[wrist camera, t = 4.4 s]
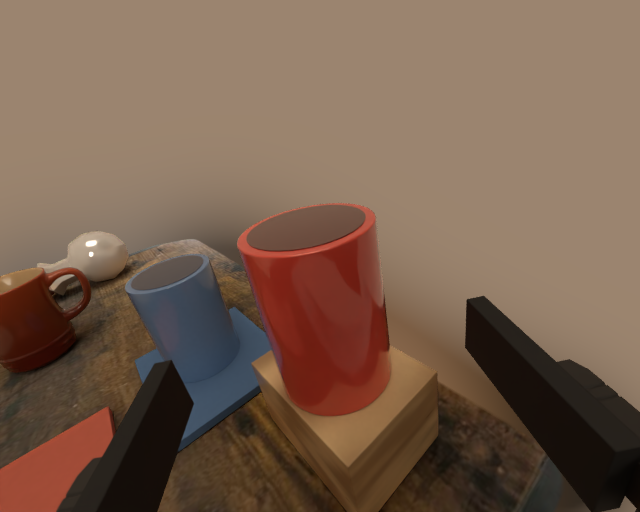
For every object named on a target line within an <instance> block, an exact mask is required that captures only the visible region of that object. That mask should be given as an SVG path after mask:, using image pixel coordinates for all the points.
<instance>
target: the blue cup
mask: <svg viewBox="0 0 640 512" xmlns="http://www.w3.org/2000/svg"><path fill="white" fill-rule="evenodd" d="M125 291H126V293H127V294H128V296H129V298H130V300H131V302H132V304H133V306H134V308H135V309H136V311H137V313H138V315H139V317H140V319H141V321H142V322H143V324H144V326H145V328H146V330H147V332H148V334H149V336H150V337H151V339H152V341H153V343H154V345H155V347H156V349H157V350H158V352H159V354H160V356H161V358H162V360H163V362H164V361H169V360H172V361H173V363H174V365H175V367H176V369H177V371H178V373H179V375H180V377H181V379H182V381H183V383H192V382H198V381H202V380H205V379H207V378H210V377H212V376H214V375H215V374H217V373H219V372H220V371H222V370H223V369H224V368H226V367H227V366H228V365H229V364H230V363H231V362H232V361H233V360H234V358H235V357H236V356H237V354H238V352H239V349H240V340H239V337H238V334H237V332H236V329H235V326H234V324H233V321H232V318H231V316H230V313H229V310H228V308H227V305H226V303H225V300H224V297H223V295H222V292H221V289H220V287H219V284H218V281H217V279H216V276H215V273H214V271H213V268H212V265H211V263H210V260H209V258H208V257H207V256H206V255H203V254H187V255H181V256H177V257H173V258H170V259H167V260H164V261H161V262H159V263H156V264H154V265H152V266H150V267H148V268H146V269H144V270H142V271H140V272H139V273H137V274H136V275H135V276H133V277H132V278H131V279H130V280H129V281H128V282H127V283H126V285H125Z"/></svg>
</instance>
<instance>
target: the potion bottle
mask: <svg viewBox="0 0 640 512" xmlns="http://www.w3.org/2000/svg"><path fill="white" fill-rule="evenodd" d="M128 257H129V255H128V252H127V249H126V245H125V243H123V242H122V241H121V240H120V239H119V238H117V237H116V236H115V235H114V234H110V233H105V232H100V231H93V232H88V233H83V234H81V235H80V236H78V237H77V238H76V239H75V240H73V241H72V242H71V243H69V245H68V253H67V258H66V259H63V260H61V261H59V262H57V263H54V264H44V263H38V264H37V268H38V267H41V268H43V269H44V270H45V272H46V273H50V272H53V271H55V270H58V269H62V268H66V267H73V268H77V269H79V270H81V271H82V272H83V273H84V274H85V275H86V277H87V279H88V280H91V281H95V282H98V281H104V280H109V279H114V278H115V277H116V276H117V275H118V274H119V273H120V272H121V271H122V270H123V269H124V268H125V267H126V264H127V260H128ZM75 281H78V278H77V277H76V276H75V275H72V274H68V275H64V276H62V277H60V278H58V279H56V280H55V281H54V282H53V284H52V285H51V286H50V287H49V290H50V292H51V295H53V294H54V293H55V294H59V295H62V296H64V293H65V291H66V289H67V286H68V285H69V284H71V283H73V282H75Z"/></svg>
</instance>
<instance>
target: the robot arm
mask: <svg viewBox="0 0 640 512" xmlns="http://www.w3.org/2000/svg"><path fill="white" fill-rule="evenodd" d="M465 348H466V349H467V350H468V352H469V353H470V354H471V356H472V357H473V358H474V360H475V361H476V362H477V363H478V365H479V366H480V367H481V369H482V370H483V371H484V372H485V374H486V375H487V377H488V378H489V379H490V380H491V382H492V383H493V384H494V386H495V387H496V388H497V390H498V391H499V392H500V393H501V395H502V396H503V397H504V399H505V400H506V401H507V403H508V404H509V405H510V407H511V408H512V409H513V410H514V412H515V413H516V414H517V416H518V417H519V418H520V420H521V421H522V422H523V424H524V425H525V426H526V427H527V429H528V430H529V431H530V433H531V434H532V435H533V437H534V438H535V439H536V441H537V442H538V443H539V444H540V446H541V447H542V448H543V450H544V451H545V452H546V454H547V455H548V456H549V457H550V459H551V460H552V461H553V463H554V464H555V465H556V467H557V468H558V469H559V471H560V472H561V473H562V474H563V476H564V477H565V478H566V480H567V481H568V482H569V484H570V485H571V486H572V487H573V489H574V490H575V491H576V493H577V494H578V495H579V497H580V498H581V499H582V501H583V502H584V503H585V504H586V506H587V507H588V508H589V510H590V511H591V512H602V511H606V510H611V509H616V508H619V507H620V505H621V503H622V501H623V499H624V496H626V497H627V498H628V499H629V500H630V501H631V503H632V504H633V505H634V506H635V507H636V508H637V509H636V511H635V512H640V412H639V411H638V410H637V409H635V408H634V407H633V406H632V405H631V404H629V403H628V402H627V401H626V400H625V399H623V398H622V397H619V396H618V394H617V393H616V392H615V391H614V390H613V389H612V388H610V387H609V386H608V385H607V386H606V385H605V383H604V382H603V381H602V380H601V379H600V378H598V377H597V376H596V375H595V374H593V373H592V372H591V371H590V370H589V369H587V368H585V367H583V366H581V365H579V364H577V363H575V362H574V361H572V360H570V359H569V360H565V361H560V362H556V361H555V360H554V359H553V358H551V357H550V356H549V355H548V354H547V353H546V352H545V351H544V350H543V349H542V348H540V347H539V346H538V345H537V344H536V343H535V342H534V341H533V340H532V339H530V338H529V337H528V336H527V335H526V334H525V333H524V332H523V331H522V330H521V329H520V328H519V327H517V326H516V325H515V324H514V323H513V322H512V321H511V320H510V319H509V318H508V317H506V316H505V315H504V314H503V313H502V312H501V311H500V310H499V309H497V307H495V306H494V305H493V304H492V303H491V302H490V301H489V300H488V299H487V298H485V296H481V297H476V298H471V299H467V307H466V339H465ZM193 405H194V402H193V400H192V398H191V396H190V394H189V392H188V390H187V388H186V386H185V385H184V383H183V381H182V379H181V377H180V375H179V373H178V371H177V369H176V367H175V365H174V363H173V361H172V360H169V361H164V362H159V363H154V365H153V367H152V369H151V370H150V372H149V374H148V376H147V377H146V379H145V381H144V383H143V385H142V386H141V388H140V390H139V392H138V393H137V395H136V397H135V399H134V401H133V402H132V404H131V406H130V408H129V410H128V411H127V413H126V415H125V417H124V418H123V420H122V422H121V424H120V426H119V427H118V429H117V431H116V433H115V435H114V436H113V438H112V440H111V442H110V443H109V445H108V447H107V449H106V451H105V452H104V454H103V456H102V457H98V458H93V459H92V460H91V461H90V462H89V463H88V464H87V465H86V467H85V468H84V469H83V470H82V471H81V472H80V473H79V474H78V475H77V477H76V478H75V480H74V482H73V483H72V485H71V487H70V488H69V490H68V492H67V493H66V497H65V498H64V499H63V500H62V502H61V503H60V505H59V507H58V508H57V510H56V512H157V511H158V508H159V505H160V502H161V499H162V496H163V493H164V490H165V487H166V484H167V481H168V478H169V476H170V473H171V470H172V467H173V464H174V461H175V458H176V455H177V452H178V449H179V446H180V443H181V440H182V437H183V435H184V432H185V429H186V426H187V423H188V420H189V417H190V414H191V411H192V408H193Z"/></svg>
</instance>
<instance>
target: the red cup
mask: <svg viewBox="0 0 640 512" xmlns="http://www.w3.org/2000/svg"><path fill="white" fill-rule="evenodd" d="M237 247H238V250H239V253H240V256H241V259H242V262H243V265H244V268H245V271H246V274H247V277H248V280H249V283H250V286H251V290H252V293H253V296H254V299H255V302H256V305H257V308H258V311H259V314H260V317H261V320H262V323H263V326H264V329H265V333H266V336H267V339H268V342H269V345H270V348H271V351H272V354H273V357H274V360H275V363H276V366H277V369H278V372H279V375H280V379H281V382H282V385H283V388H284V391H285V393H286V394H287V396H288V397H289V399H290V400H291V401H292V402H293V403H294V404H295V405H296V406H298V407H299V408H301V409H302V410H305V411H307V412H309V413H312V414H316V415H321V416H340V415H345V414H350V413H353V412H356V411H358V410H360V409H362V408H364V407H366V406H368V405H369V404H371V403H372V402H373V401H374V400H376V399H377V398H378V397H379V396H380V395H381V393H382V392H383V391H384V389H385V388H386V386H387V384H388V382H389V380H390V376H391V371H392V363H391V354H390V344H389V335H388V326H387V317H386V308H385V298H384V289H383V279H382V270H381V261H380V250H379V241H378V232H377V223H376V216H375V214H374V212H373V211H372V210H370V209H369V208H366V207H364V206H360V205H355V204H344V203H343V204H342V203H336V204H335V203H333V204H320V205H313V206H307V207H302V208H297V209H293V210H289V211H286V212H283V213H280V214H277V215H274V216H272V217H269V218H266V219H264V220H262V221H260V222H258V223H256V224H254V225H253V226H251V227H250V228H248V229H247V230H246V231H244V232H243V233H242V234H241V236H240V237H239V239H238V242H237Z"/></svg>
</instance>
